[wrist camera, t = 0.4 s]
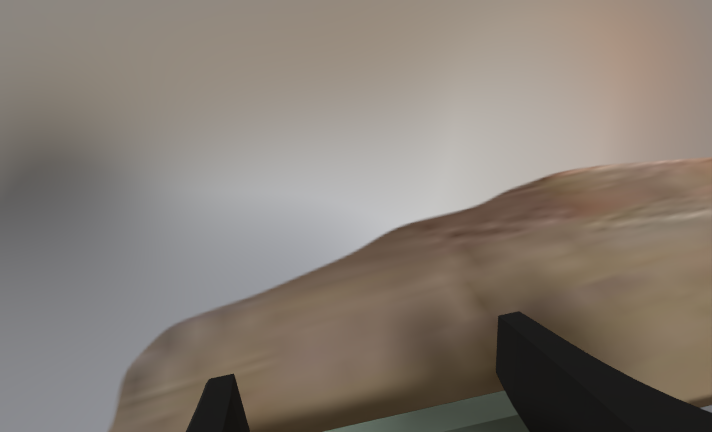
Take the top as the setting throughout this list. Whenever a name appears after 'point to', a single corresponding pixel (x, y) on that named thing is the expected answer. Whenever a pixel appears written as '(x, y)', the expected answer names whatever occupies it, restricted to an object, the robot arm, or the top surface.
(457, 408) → the cold frame
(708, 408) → the edging
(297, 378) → the top surface
